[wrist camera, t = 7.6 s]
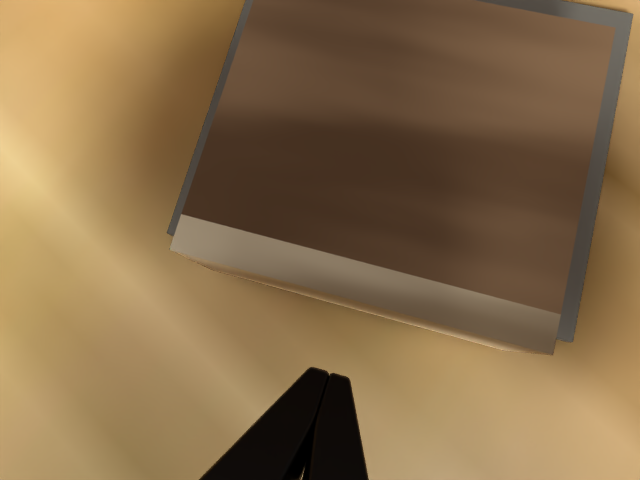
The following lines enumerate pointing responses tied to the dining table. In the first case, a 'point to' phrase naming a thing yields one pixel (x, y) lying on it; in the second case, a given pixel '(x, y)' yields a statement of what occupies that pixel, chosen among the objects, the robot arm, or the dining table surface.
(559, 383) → the dining table surface
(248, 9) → the mat
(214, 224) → the walnut block
